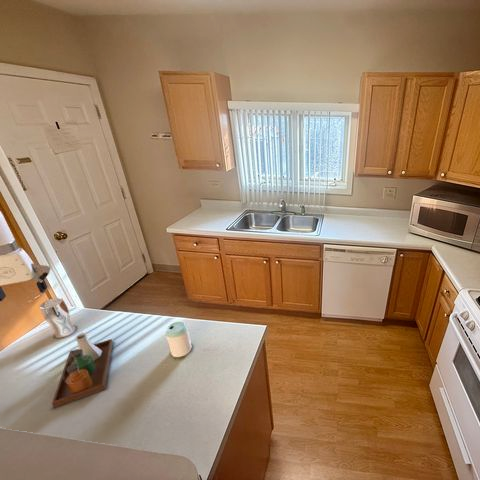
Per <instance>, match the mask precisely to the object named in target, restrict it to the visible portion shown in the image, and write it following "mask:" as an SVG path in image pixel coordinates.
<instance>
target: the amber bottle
mask: <svg viewBox="0 0 480 480" xmlns="http://www.w3.org/2000/svg"><path fill="white" fill-rule="evenodd" d="M67 371H68V373H70V375H69V376H68V378H67V379H66V383H67V385H68V387H69V389H70V390H71V392H72V394H75V393H78V392H81V391H84V390H87V389H89V388H91V386H92V385H93V381H92V379H91V377H90V375H89V373H88V371H87V370H86V369H81V370H79V366H78V364H72V365H70V366H69V367H68V368H67Z"/></svg>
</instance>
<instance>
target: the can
mask: <svg viewBox="0 0 480 480" xmlns="http://www.w3.org/2000/svg"><path fill="white" fill-rule="evenodd" d="M165 336H166V339H167V343H168V347H169V350H170V354H171V356H172V357H174V358H181V357H184V356H186V355H187V354H189V352H190V351H191V350H192V347H193V346H192V342H191V337H190V332H189V328H188V325H187V324H185V322H184V321H175V322H173V323H171V324H170V325H168V327H167V328H166V332H165Z"/></svg>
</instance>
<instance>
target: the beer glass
mask: <svg viewBox="0 0 480 480" xmlns="http://www.w3.org/2000/svg"><path fill="white" fill-rule="evenodd" d="M38 307H39V309H40V310H39V311H40V312H41V315H42V317H43V318H44V320H45V321H46V323H47V324H49V326H50V327H51V328H52V330H53V333H54V336H55V338H58V339H61V338H65V337H68V336H70V335H72V334H73V333H74V332H75V331H76V327H75V326H74V325H73V323H72V321H71V314H70V311H69V310H70V309H69V307H68V305H67V304H66V302H65V300H64V298H62V297H54V298H50V299H46V300H45V301H43V302H41V303H40V304H39V306H38Z"/></svg>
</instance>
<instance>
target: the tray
mask: <svg viewBox="0 0 480 480" xmlns="http://www.w3.org/2000/svg"><path fill="white" fill-rule="evenodd" d="M92 344H93V345H95V346H96V347H98V348H99V349H100V350H102V354H101V356H100V357H99V358H98V359H96V360H94V361H93V362H94V364H95V366H96V370H95V372H94V373H93V374H92V375H90V377H91V379H92V381H93V385H92V386H91V388H89V389H87V390H84V391H81V392H78V393H75V394H72V392H71V390H70V389H69V387H68V385H67V383H66V379H67V378H68V376H69V375H70V373H68V371H67V368H68V367H69V366H70V365H71V364H72V362H73V361H74V360H75V358H74V357H73V356H72V353H73V352H74V351H76V350H78V348H76V349H73V350H70V351H69V353H68V356H67V359H66V362H65V365H64V368H63V370H62V374H61V376H60V378H59V381H58V384H57V387H56V391H55V392H54V396H53V399H52V402H51V404H52V406H53V407H54V408H57V407H61V406H63V405H65V404H69V403H72V402H74V401H77V400H79V399H82V398H85V397H87V396H90V395H94V394H95V393H99V392H101V391H105V390H106V386H107V381H108V374H109V369H110V364H111V358H112V352H113V351H112V350H113V345H114V342H113V339H107V340H103V341H100V342H96V343H92Z"/></svg>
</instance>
